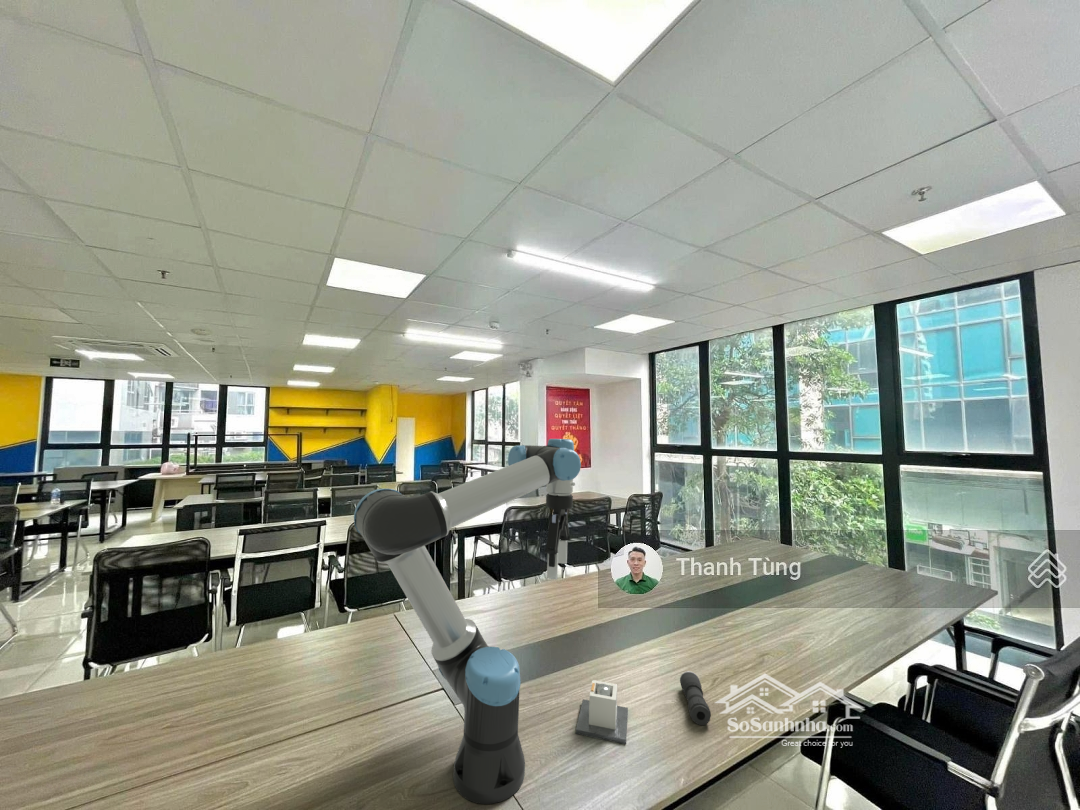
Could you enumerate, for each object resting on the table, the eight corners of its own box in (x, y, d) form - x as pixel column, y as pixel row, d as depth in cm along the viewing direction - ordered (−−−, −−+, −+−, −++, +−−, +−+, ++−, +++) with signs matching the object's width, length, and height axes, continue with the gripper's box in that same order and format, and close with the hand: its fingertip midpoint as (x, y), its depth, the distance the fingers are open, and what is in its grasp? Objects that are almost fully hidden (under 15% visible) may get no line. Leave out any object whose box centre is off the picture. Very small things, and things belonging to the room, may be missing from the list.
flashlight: (712, 729, 105) (712, 706, 105) (690, 725, 106) (690, 703, 106) (699, 691, 120) (699, 672, 121) (679, 689, 121) (679, 670, 121)
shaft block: (626, 744, 99) (626, 706, 99) (575, 733, 102) (576, 697, 102) (627, 711, 110) (628, 678, 111) (582, 703, 113) (583, 670, 114)
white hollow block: (615, 729, 102) (615, 698, 102) (588, 724, 104) (589, 694, 104) (616, 711, 108) (617, 683, 109) (591, 707, 110) (592, 678, 110)
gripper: (564, 501, 105) (562, 587, 103) (579, 488, 129) (577, 558, 128) (535, 499, 107) (532, 584, 105) (555, 487, 131) (553, 556, 129)
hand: (557, 570), depth 116 cm, fingers open, 13 cm apart
